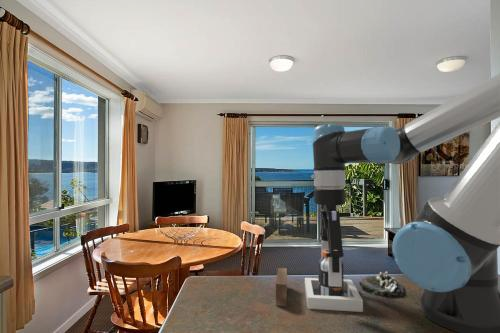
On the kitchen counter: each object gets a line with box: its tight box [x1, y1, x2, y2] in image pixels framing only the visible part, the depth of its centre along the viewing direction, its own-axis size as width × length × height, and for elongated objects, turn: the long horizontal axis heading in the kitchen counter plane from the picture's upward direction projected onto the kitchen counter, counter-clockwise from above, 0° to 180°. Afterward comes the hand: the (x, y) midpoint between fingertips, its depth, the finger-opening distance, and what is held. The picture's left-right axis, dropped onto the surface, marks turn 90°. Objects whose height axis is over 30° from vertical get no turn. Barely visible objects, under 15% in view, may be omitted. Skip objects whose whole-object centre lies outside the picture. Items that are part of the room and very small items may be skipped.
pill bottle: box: [317, 249, 345, 297], centre depth 69 cm, size 6×6×11 cm
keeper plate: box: [304, 277, 364, 313], centre depth 68 cm, size 12×12×2 cm
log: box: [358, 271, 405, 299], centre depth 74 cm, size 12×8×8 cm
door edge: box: [275, 267, 288, 307], centre depth 70 cm, size 2×11×5 cm, turn 172°
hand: (330, 274), depth 68 cm, fingers open, 13 cm apart
